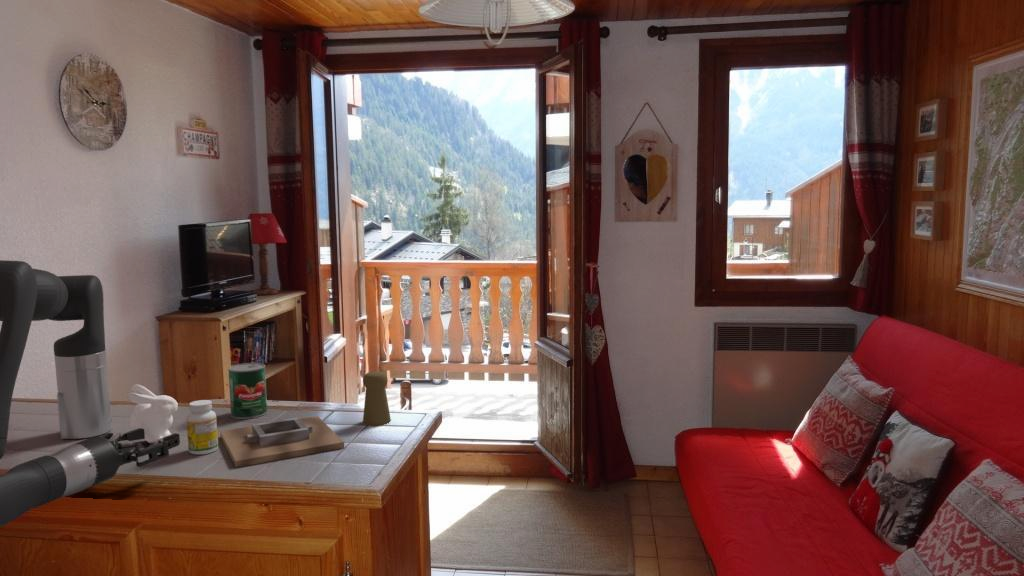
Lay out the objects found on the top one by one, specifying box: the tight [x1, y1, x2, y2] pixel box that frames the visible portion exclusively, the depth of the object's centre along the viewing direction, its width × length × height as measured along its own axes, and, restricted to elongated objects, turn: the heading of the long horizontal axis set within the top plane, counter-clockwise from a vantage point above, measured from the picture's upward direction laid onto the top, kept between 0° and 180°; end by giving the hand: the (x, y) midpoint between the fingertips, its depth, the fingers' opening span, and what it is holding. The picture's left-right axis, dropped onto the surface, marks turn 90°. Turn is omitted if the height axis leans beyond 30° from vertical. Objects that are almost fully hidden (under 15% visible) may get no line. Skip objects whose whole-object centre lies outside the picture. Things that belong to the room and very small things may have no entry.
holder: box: [219, 415, 345, 468], centre depth 145 cm, size 20×20×3 cm
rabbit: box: [127, 384, 179, 446], centre depth 147 cm, size 12×9×12 cm
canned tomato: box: [227, 362, 268, 420], centre depth 165 cm, size 8×8×11 cm
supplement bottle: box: [185, 399, 219, 456], centre depth 141 cm, size 5×5×10 cm
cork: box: [362, 371, 392, 427], centre depth 158 cm, size 6×6×11 cm
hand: (160, 436), depth 132 cm, fingers open, 8 cm apart
